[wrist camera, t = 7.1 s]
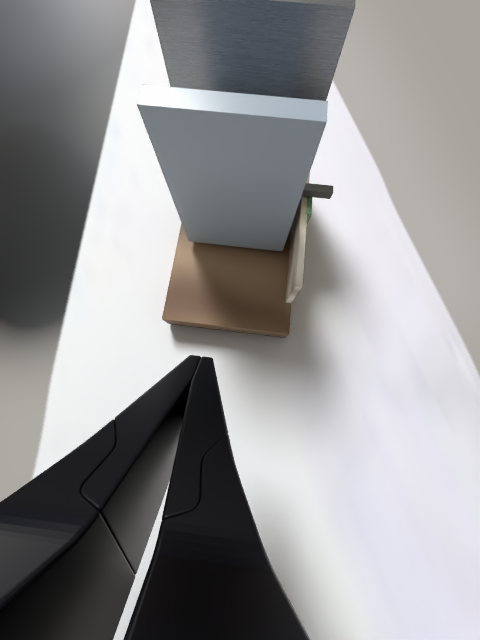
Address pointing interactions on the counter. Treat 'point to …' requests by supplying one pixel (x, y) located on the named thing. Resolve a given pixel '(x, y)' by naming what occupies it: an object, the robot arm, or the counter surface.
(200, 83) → the brushed steel plate
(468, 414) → the counter surface
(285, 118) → the pale blue shelf board
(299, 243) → the gauge frame
